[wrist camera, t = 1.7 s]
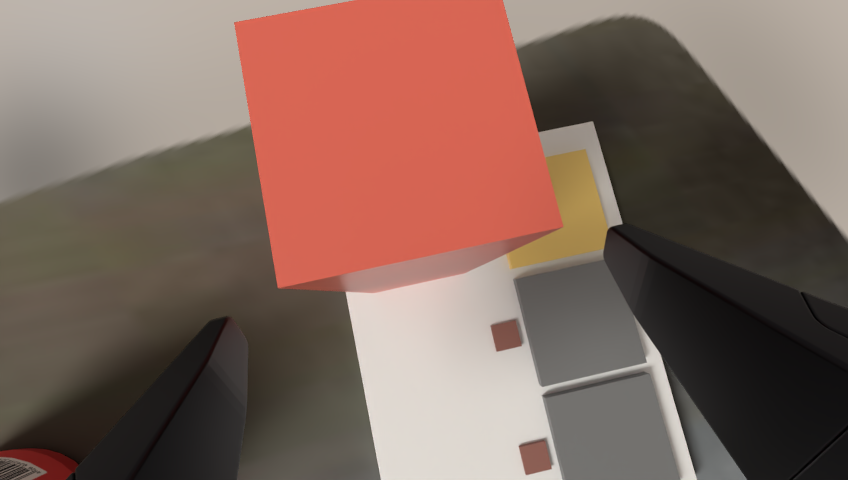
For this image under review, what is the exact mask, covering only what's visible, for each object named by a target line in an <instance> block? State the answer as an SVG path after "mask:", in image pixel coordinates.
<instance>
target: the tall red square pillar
mask: <svg viewBox="0 0 848 480" xmlns="http://www.w3.org/2000/svg"><path fill="white" fill-rule="evenodd" d="M234 24H235V30H236V36H237V42H238V48H239V54H240V60H241V66H242V72H243V78H244V85H245V90H246V96H247V103H248V109H249V114H250V121H251V127H252V133H253V139H254V145H255V151H256V157H257V164H258V170H259V176H260V182H261V188H262V194H263V200H264V206H265V212H266V218H267V224H268V230H269V236H270V242H271V248H272V255H273V261H274V267H275V273H276V279H277V285H278V288H284V289H302V290H321V291H340V292H359V293H377V292H381V291H386V290H390V289H395V288H400V287H404V286H409V285H413V284H418V283H423V282H427V281H432V280H437V279H441V278H446V277H450V276H455V275H460V274H464V273H467V272H469V271H471V270H473V269H475V268H477V267H479V266H481V265H484V264H486V263H488V262H490V261H492V260H494V259H496V258H499V257H501V256H503V255H505V254H507V253H509V252H511V251H513V250H516V249H518V248H520V247H522V246H524V245H526V244H528V243H531V242H533V241H535V240H537V239H539V238H541V237H543V236H546V235H548V234H550V233H552V232H554V231H556V230H558V229H560V228H563V223H562V219H561V215H560V212H559V208H558V204H557V201H556V197H555V193H554V189H553V186H552V182H551V178H550V175H549V171H548V167H547V163H546V160H545V156H544V152H543V148H542V145H541V141H540V137H539V134H538V130H537V126H536V122H535V119H534V115H533V111H532V108H531V104H530V100H529V96H528V93H527V89H526V85H525V82H524V78H523V74H522V70H521V67H520V63H519V59H518V55H517V52H516V48H515V44H514V41H513V37H512V33H511V29H510V26H509V22H508V18H507V15H506V11H505V7H504V4H503V0H354V1H349V2H343V3H338V4H333V5H327V6H321V7H316V8H311V9H305V10H299V11H294V12H289V13H283V14H278V15H272V16H266V17H261V18H256V19H250V20H245V21H239V22H235V23H234Z"/></svg>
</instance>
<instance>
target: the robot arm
mask: <svg viewBox="0 0 848 480" xmlns="http://www.w3.org/2000/svg"><path fill="white" fill-rule="evenodd" d="M603 257H604V261H605V263H606V265H607V267H608V269H609V271H610V273H611V275H612V276H613V278H614V280H615V282H616V284H617V286H618V288H619V289H620V291H621V293H622V295H623V297H624V299H625V301H626V302H627V304H628V306H629V308H630V310H631V311H632V313H633V315H634V316H635V318H636V319H637V321H638V322H639V324H640V325H641V327H642V328H643V330H644V331H645V333H646V334H647V335H648V337H649V338H650V340H651V341H652V343H653V344H654V346H655V347H656V348H657V350H658V351H659V353H660V354H661V356H662V357H663V359H664V360H665V361H666V363H667V364H668V366H669V367H670V369H671V370H672V372H673V373H674V374H675V376H676V377H677V379H678V380H679V382H680V383H681V385H682V386H683V387H684V389H685V390H686V392H687V393H688V395H689V396H690V398H691V399H692V400H693V402H694V403H695V405H696V406H697V408H698V409H699V411H700V412H701V413H702V415H703V416H704V418H705V419H706V421H707V422H708V424H709V425H710V427H711V428H712V429H713V431H714V432H715V434H716V435H717V437H718V438H719V440H720V441H721V442H722V444H723V445H724V447H725V448H726V450H727V451H728V453H729V454H730V455H731V457H732V458H733V460H734V461H735V463H736V464H737V466H738V467H739V468H740V470H741V471H742V473H743V474H744V476H745V477H746V479H747V480H848V309H847V308H845V307H842V306H839V305H837V304H834V303H831V302H829V301H826V300H823V299H821V298H818V297H816V296H813V295H811V294H808V293H806V292H801V293H800V291H799V290H798V289H795V288H792V287H790V286H787V285H785V284H782V283H779V282H777V281H774V280H772V279H769V278H767V277H764V276H761V275H759V274H756V273H754V272H751V271H749V270H746V269H743V268H741V267H738V266H736V265H733V264H731V263H728V262H725V261H723V260H720V259H718V258H715V257H712V256H710V255H707V254H705V253H702V252H700V251H697V250H694V249H692V248H689V247H687V246H684V245H682V244H679V243H676V242H674V241H671V240H669V239H666V238H664V237H661V236H658V235H656V234H653V233H651V232H648V231H645V230H643V229H640V228H638V227H635V226H633V225H630V224H620V225H616V226H612V227H610V228H609V229H608V230H607V234H606V240H605V245H604V251H603ZM247 380H248V342H247V339H246V337H245V336H244V334H243V333H242V331H241V330H240V328H239V327H238V325H237V324H236V323H235V321H234V320H233V319H232V318H231V317H229V316H225V317H221V318H217V319H213V320H211V321H209V322H208V323H207V324H206V325H205V326H204V328H203V329H202V330H201V331H200V332H199V333H198V334H197V335H196V336H195V337H194V339H193V340H192V341H191V342H190V343H189V344H188V345H187V346H186V347H185V349H184V350H183V351H182V352H181V353H180V354H179V355H178V356H177V357H176V358H175V360H174V361H173V362H172V363H171V364H170V365H169V366H168V367H167V368H166V369H165V371H164V372H163V373H162V374H161V375H160V376H159V377H158V378H157V379H156V381H155V382H154V383H153V384H152V385H151V386H150V387H149V388H148V389H147V390H146V392H145V393H144V394H143V395H142V396H141V397H140V398H139V399H138V400H137V401H136V403H135V404H134V405H133V406H132V407H131V408H130V409H129V410H128V411H127V413H126V414H125V415H124V416H123V417H122V418H121V419H120V420H119V421H118V422H117V424H116V425H115V426H114V427H113V428H112V429H111V430H110V431H109V432H108V433H107V435H106V436H105V437H104V438H103V439H102V440H101V441H100V442H99V443H98V444H97V446H96V447H95V448H94V449H93V450H92V451H91V452H90V453H89V454H88V456H87V457H86V458H85V459H84V460H83V461H82V462H81V463H80V464H79V465H78V467H77V468H76V469H75V472H74V473H71V474H70V475H69V476H68V477H67V479H66V480H237V476H238V469H239V462H240V455H241V447H242V440H243V433H244V426H245V419H246V410H247Z"/></svg>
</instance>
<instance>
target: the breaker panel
mask: <svg viewBox="0 0 848 480" xmlns="http://www.w3.org/2000/svg"><path fill="white" fill-rule="evenodd" d="M538 134H539V137H540V141H541V145H542V148H543V152H544V156H545V157H549V156H554V155H558V154H563V153H568V152H573V151H578V150H583V149H586V152H587V156H588V160H589V163H590V167H591V170H592V174H593V177H594V181H595V184H596V188H597V191H598V195H599V198H600V202H601V205H602V209H603V212H604V216H605V219H606V223H607V226H608V229H609V228H610V227H612V226H616V225H620V224H623V223H622V220H621V216H620V213H619V209H618V206H617V203H616V199H615V196H614V192H613V189H612V185H611V182H610V178H609V175H608V172H607V168H606V165H605V161H604V158H603V154H602V151H601V147H600V144H599V141H598V137H597V134H596V130H595V127H594V123H593V121H592V122H587V123H582V124H577V125H572V126H567V127H562V128H557V129H552V130H547V131H542V132H538ZM603 251H604V249H602V250H597V251H592V252H588V253H583V254H579V255H574V256H570V257H565V258H560V259H556V260H551V261H547V262H542V263H537V264H533V265H528V266H524V267H519V268H515V269H510V268H509V264H508V260H507V256H506V254H505V255H503V256H501V257H499V258H496V259H494V260H492V261H490V262H488V263H486V264H484V265H481V266H479V267H477V268H475V269H473V270H471V271H469V272H467V273H464V274H460V275H455V276H450V277H446V278H441V279H437V280H432V281H427V282H423V283H418V284H413V285H409V286H404V287H400V288H395V289H390V290H386V291H381V292H377V293H359V292H346V296H347V301H348V306H349V312H350V317H351V322H352V327H353V333H354V338H355V343H356V349H357V354H358V359H359V365H360V370H361V375H362V381H363V386H364V391H365V397H366V402H367V407H368V413H369V418H370V423H371V429H372V434H373V439H374V445H375V450H376V455H377V460H378V466H379V471H380V476H381V480H697V479H696V475H695V472H694V468H693V465H692V461H691V458H690V454H689V451H688V447H687V444H686V441H685V437H684V434H683V430H682V427H681V423H680V420H679V416H678V413H677V410H676V406H675V403H674V399H673V396H672V392H671V389H670V385H669V382H668V379H667V375H666V372H665V368H664V365H663V361H662V358H661V354H660V353H659V351H658V350H657V348H656V347H655V346H654V344H653V343H652V341H651V340H650V338H649V337H648V335H647V334H646V333H645V331H644V330H643V328H642V327H641V325H640V324H639V322H638V321H637V319H636V318H635V316H634V315H633V313H632V311H631V310H630V308H629V306H628V304H627V302H626V301H625V299H624V297H623V295H622V293H621V291H620V289H619V288H618V286H617V284H616V282H615V280H614V278H613V276H612V275H611V273H610V271H609V269H608V267H607V265H606V263H605V261H604V257H603Z"/></svg>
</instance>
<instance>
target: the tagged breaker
mask: <svg viewBox="0 0 848 480" xmlns="http://www.w3.org/2000/svg"><path fill="white" fill-rule="evenodd" d="M545 160H546V163H547V167H548V171H549V175H550V178H551V182H552V186H553V189H554V193H555V197H556V201H557V204H558V208H559V212H560V215H561V219H562V223H563V228H560V229H558V230H556V231H554V232H552V233H550V234H548V235H546V236H543V237H541V238H539V239H537V240H535V241H533V242H531V243H528V244H526V245H524V246H522V247H520V248H518V249H516V250H513V251H511V252H509V253H507V254H506V256H507V260H508V264H509V268H510V269H515V268H519V267H524V266H528V265H533V264H537V263H542V262H547V261H551V260H556V259H560V258H565V257H570V256H574V255H579V254H583V253H588V252H592V251H597V250H602V249H604V245H605V240H606V234H607V230H608V226H607V223H606V219H605V216H604V212H603V209H602V205H601V202H600V198H599V195H598V191H597V188H596V184H595V181H594V177H593V174H592V170H591V167H590V163H589V160H588V156H587V152H586V149H583V150H578V151H573V152H568V153H563V154H558V155H554V156H549V157H545Z"/></svg>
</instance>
